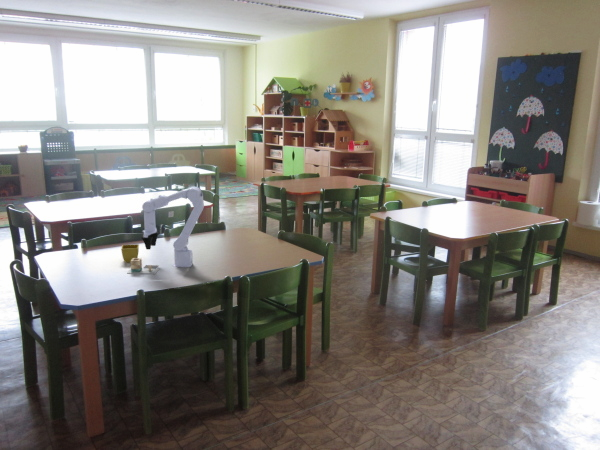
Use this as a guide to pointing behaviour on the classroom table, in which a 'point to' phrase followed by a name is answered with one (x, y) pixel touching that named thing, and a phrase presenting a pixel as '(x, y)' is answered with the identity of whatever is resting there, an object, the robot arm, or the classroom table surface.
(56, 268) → the classroom table surface
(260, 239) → the classroom table surface
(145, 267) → the pad
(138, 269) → the sleeve
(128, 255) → the flower pot
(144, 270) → the pin board
